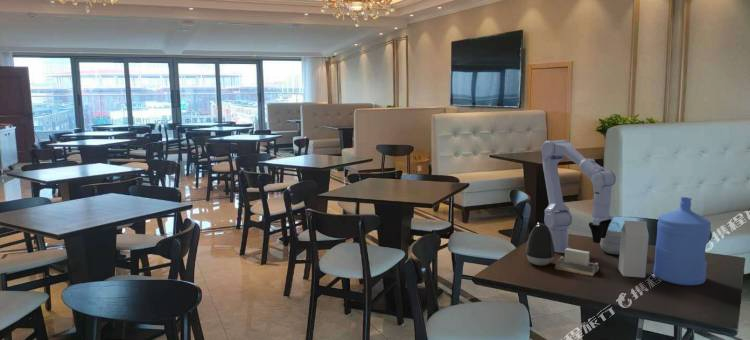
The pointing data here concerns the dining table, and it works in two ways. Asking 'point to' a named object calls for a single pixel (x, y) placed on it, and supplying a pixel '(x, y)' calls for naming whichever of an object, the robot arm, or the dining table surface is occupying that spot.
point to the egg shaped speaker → (540, 245)
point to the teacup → (611, 242)
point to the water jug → (681, 246)
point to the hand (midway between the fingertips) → (599, 240)
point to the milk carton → (633, 249)
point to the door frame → (576, 267)
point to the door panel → (577, 256)
